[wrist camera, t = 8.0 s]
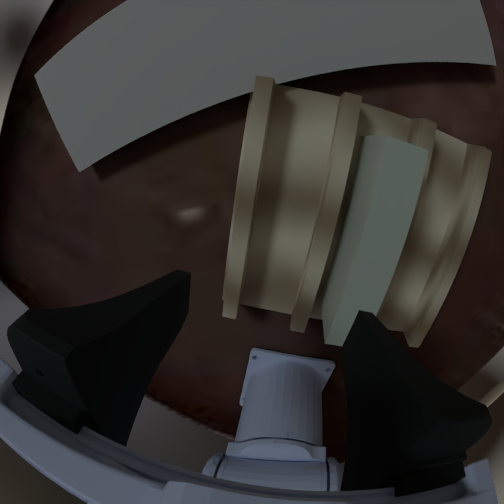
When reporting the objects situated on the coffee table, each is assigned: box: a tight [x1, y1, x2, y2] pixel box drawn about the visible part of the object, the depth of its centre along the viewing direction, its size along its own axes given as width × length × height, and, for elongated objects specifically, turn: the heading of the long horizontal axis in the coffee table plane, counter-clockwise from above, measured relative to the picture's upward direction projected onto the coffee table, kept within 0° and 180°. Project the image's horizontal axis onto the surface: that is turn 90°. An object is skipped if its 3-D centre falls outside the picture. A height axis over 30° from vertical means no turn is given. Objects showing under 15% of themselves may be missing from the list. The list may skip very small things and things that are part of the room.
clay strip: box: [320, 135, 429, 346], centre depth 15 cm, size 12×2×5 cm, turn 172°
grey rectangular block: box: [35, 0, 496, 172], centre depth 13 cm, size 34×5×10 cm
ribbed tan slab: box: [222, 76, 492, 348], centre depth 17 cm, size 16×17×3 cm
